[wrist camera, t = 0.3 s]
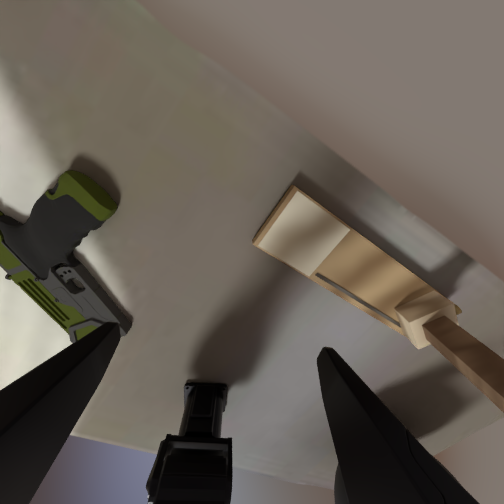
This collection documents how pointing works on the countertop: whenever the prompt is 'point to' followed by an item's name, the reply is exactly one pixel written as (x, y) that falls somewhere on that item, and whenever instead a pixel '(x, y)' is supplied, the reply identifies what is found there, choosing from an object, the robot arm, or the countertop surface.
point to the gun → (61, 255)
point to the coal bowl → (339, 487)
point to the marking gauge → (453, 342)
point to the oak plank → (338, 257)
